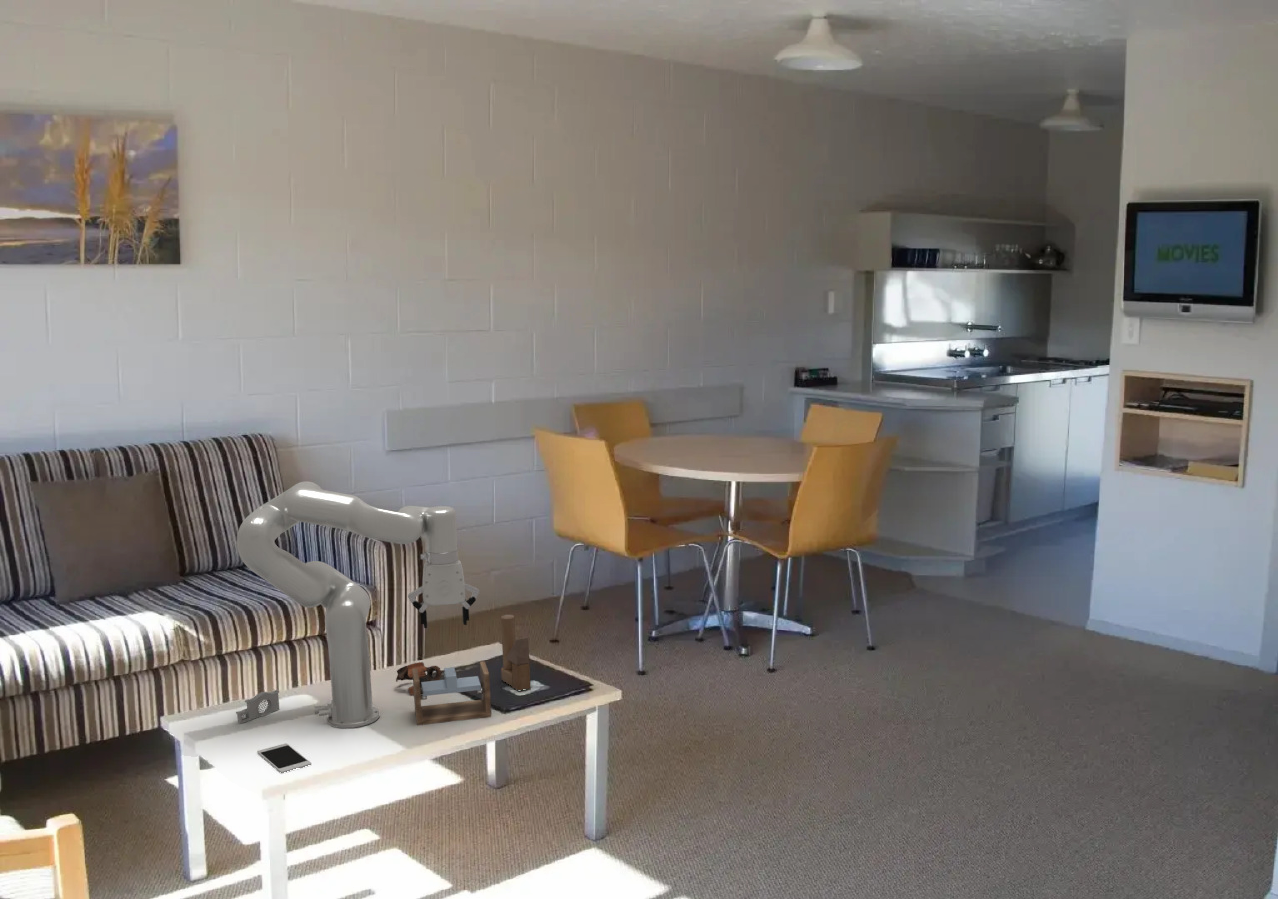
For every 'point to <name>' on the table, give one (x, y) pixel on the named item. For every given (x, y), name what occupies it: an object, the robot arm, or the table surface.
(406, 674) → the pottery mug
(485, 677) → the shelf unit
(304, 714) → the table surface
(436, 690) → the shelf board
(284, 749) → the smartphone
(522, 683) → the wooden block
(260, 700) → the garden wall model
